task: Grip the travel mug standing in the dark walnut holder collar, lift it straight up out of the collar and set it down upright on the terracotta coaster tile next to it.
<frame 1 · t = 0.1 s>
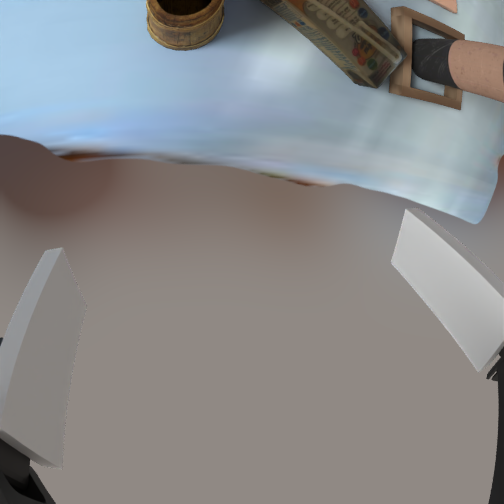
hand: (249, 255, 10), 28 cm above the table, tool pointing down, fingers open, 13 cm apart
holder collar: (424, 59, 32), on the table
wooden mug: (193, 1, 24), on the table
beverage carton: (321, 21, 28), on the table
travel mug: (423, 59, 32), resting in holder collar
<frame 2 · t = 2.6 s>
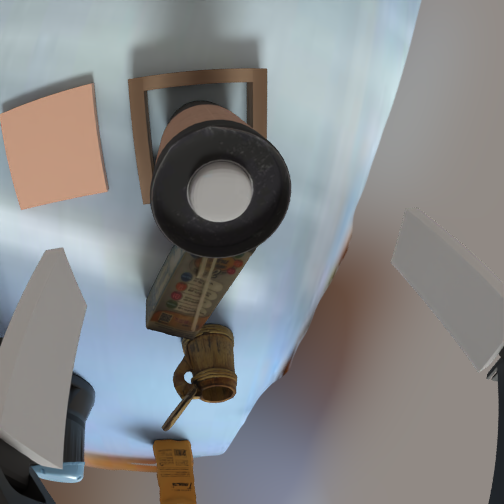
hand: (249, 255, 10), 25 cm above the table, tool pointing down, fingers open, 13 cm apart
holder collar: (199, 130, 31), on the table
wooden mug: (195, 337, 50), on the table
beverage carton: (194, 260, 41), on the table
coffee package: (171, 443, 76), on the table
travel mug: (199, 130, 31), resting in holder collar
coaster tile: (52, 148, 27), on the table
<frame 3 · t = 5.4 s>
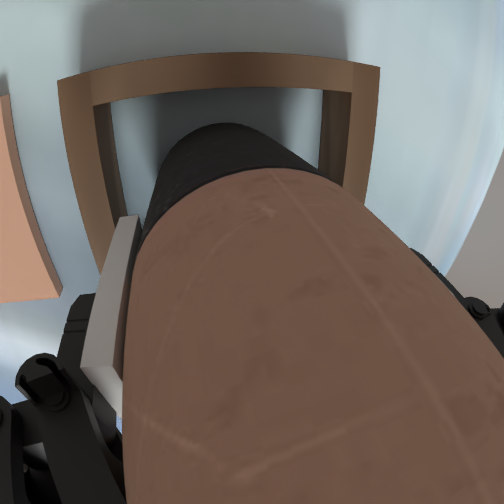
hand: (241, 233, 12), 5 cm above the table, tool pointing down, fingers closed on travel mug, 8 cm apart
holder collar: (223, 186, 16), on the table
travel mug: (223, 184, 16), resting in holder collar, touching gripper
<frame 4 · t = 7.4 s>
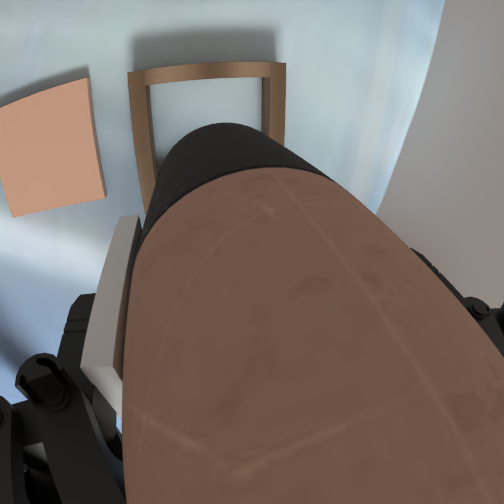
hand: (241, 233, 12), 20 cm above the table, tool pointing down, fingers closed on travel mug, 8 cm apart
holder collar: (207, 130, 28), on the table
travel mug: (222, 184, 16), point 15 cm above the table, touching gripper
coaster tile: (44, 150, 24), on the table
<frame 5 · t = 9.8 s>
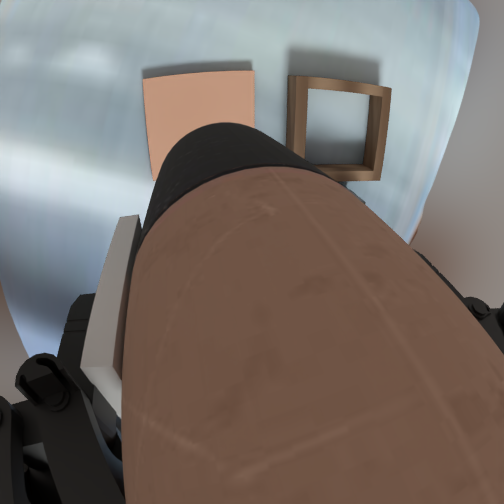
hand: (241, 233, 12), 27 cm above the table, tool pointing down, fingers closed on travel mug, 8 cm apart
holder collar: (334, 127, 37), on the table
travel mug: (222, 184, 16), point 22 cm above the table, touching gripper
coaster tile: (200, 123, 33), on the table
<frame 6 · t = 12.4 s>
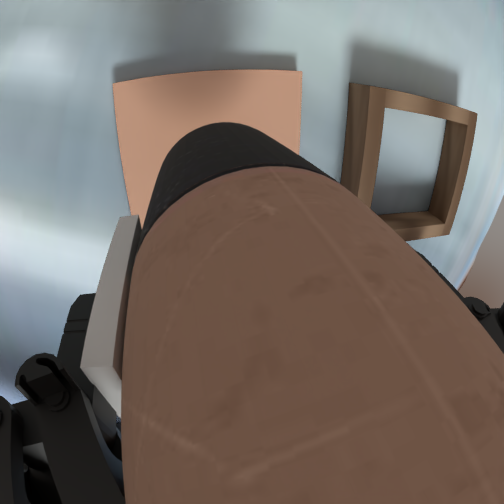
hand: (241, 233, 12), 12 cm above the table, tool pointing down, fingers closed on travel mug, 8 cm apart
holder collar: (403, 163, 25), on the table
travel mug: (222, 183, 16), point 6 cm above the table, touching gripper
coaster tile: (211, 156, 21), on the table
when the fingers open (8 cm above the table, at t = 14.2 s): travel mug drops 1 cm, resting on coaster tile.
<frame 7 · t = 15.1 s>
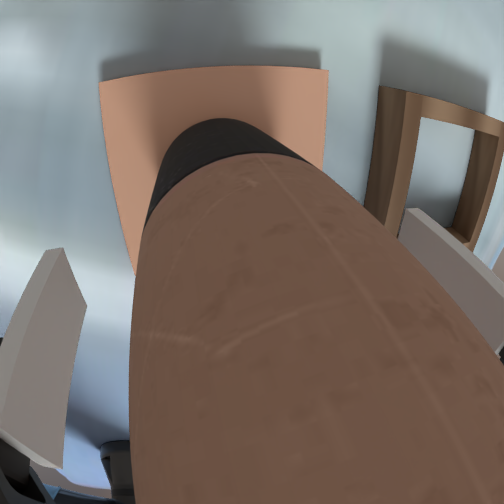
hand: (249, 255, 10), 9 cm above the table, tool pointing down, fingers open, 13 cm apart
holder collar: (430, 177, 22), on the table
travel mug: (219, 174, 17), point 1 cm above the table, touching coaster tile
coaster tile: (218, 170, 18), on the table
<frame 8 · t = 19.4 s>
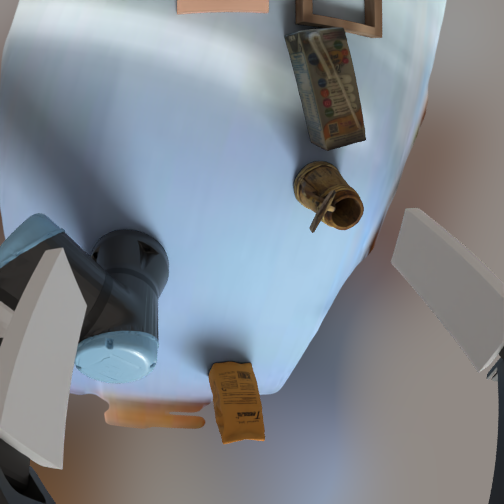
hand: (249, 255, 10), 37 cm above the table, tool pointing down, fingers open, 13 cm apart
wooden mug: (306, 179, 50), on the table
beverage carton: (318, 85, 41), on the table
coffee package: (230, 369, 77), on the table
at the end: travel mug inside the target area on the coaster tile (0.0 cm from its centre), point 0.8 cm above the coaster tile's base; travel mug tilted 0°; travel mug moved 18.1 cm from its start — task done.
